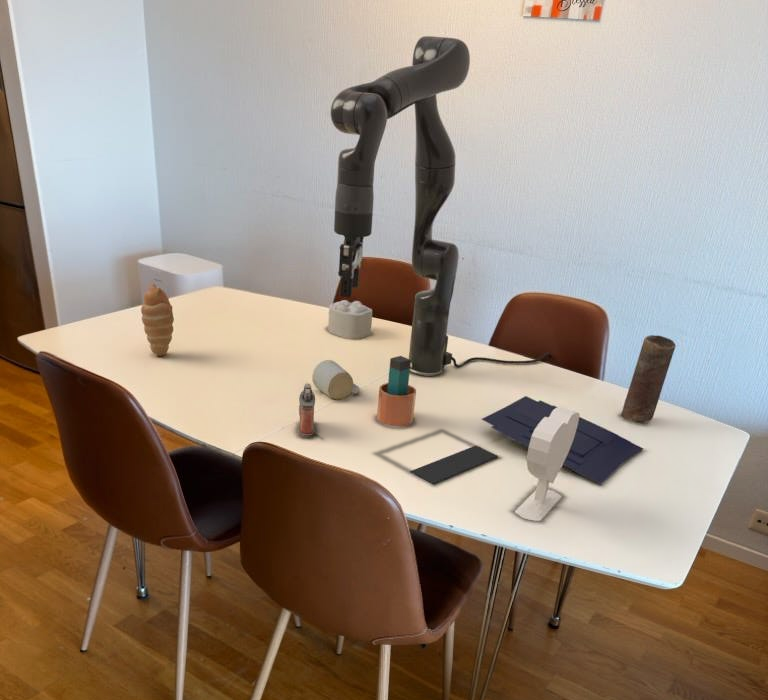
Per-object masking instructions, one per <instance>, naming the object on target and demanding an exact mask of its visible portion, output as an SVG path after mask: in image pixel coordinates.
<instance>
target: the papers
mask: <svg viewBox="0 0 768 700" xmlns="http://www.w3.org/2000/svg"><path fill="white" fill-rule="evenodd" d="M557 407H558V406H556V405H554V404H553V405H552V404H550V403H548V402H545V401H543V400H540V399H539V400H535V399H533V398H531V397H529V396H528V395H524V396H523V397H521V398H519V399H518V400H516V401H514V402H512V403H510V404H508V405H506V406H505V407H502V408H501V409H498V410H496V411H494V412H493V413H491V414H489V415H486V416H484V417H482V418H481V420H482V421H483V422H486V423H487V424H489V425H491V428H492V429H494V430H495V431H498V432H499V433H501V434H502V435H504V436H505V437H507V438H509V439H510V440H512V441H514V442H515V443H520V444H522V445H523V446H525V447H527V448H529V444H530V440H531V436H532V434H533V432H534V430H535V428H536V427H537V425H538V424H539V423H540V421H541V420H542V419H543V418H544V417H548V418H549V416H550V414H551V413H552V411H553V410H554V409H555V408H557ZM643 450H644V448H643V447H642V446H640V445H638V444H636V443H633V442H632V441H630V440H628V439H627V438H624V437H622V436H620V435H619V434H618V433H615V432H612V431H610V430H608V429H606V428H604V427H602V426H600V425H598V424H597V423H593V422H592V421H590V420H587V419H586V418H583V417H581V416H579V421H578V426H577V429H576V433H575V436H574V439H573V442H572V445H571V447H570V450H569V452H568V455H567V457H566V459H565V461H564V463H563V465H562V466H565V467H566V468H569V470H571V471H573V472H575V473H577V474H579V475H580V476H582V477H585V478H587V479H588V480H591V481H594V482H595V483H597V484H599V485H602V484H603V482H605V481H606V480H607V479H608V478H609V477H610V476H611V475H612V474H613V473H614V472H615V471H616V470H617V469H618V468H619V467H620V466H621V465H622V464H624V463H626V462H627V461H628V460H629V459H632V458H633V457H634V456H636V455H637V454H639V453H641V451H643Z"/></svg>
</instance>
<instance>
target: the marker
mask: <svg viewBox="0 0 768 700" xmlns="http://www.w3.org/2000/svg"><path fill="white" fill-rule="evenodd" d="M410 363H411V360H410V359H409V358H407V357H405V356H402V355H398V356H395V357H390V359H389V369H388V370H389V371H388V379H387V380H388V382H387V383H388V391H387V393H388V394H391V395H397V396H405V395H407V392H408V385H409V381H410V373H411V372H410Z"/></svg>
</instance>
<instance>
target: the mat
mask: <svg viewBox="0 0 768 700" xmlns="http://www.w3.org/2000/svg"><path fill="white" fill-rule="evenodd" d="M498 457H499V455H497V454H495V453H493V452H491V451H489V450H486V449H484V448H483V447H480V446H479V445H473V446H471V447H469V448H466V449H463V450H460V451H458V452H455V453H453V454H450V455H447V456H445V457H443V458H440V459H437V460H435V461H433V462H430V463H428V464H425V465H422V466H420V467H418V468H415V469H411V470H409V473H412V474H413V475H415V476H417V477H419V478H421V479H423V480H425V481H426V482H428V483H430V484H432V485H436V484H438V483H441V482H444V481H446V480H448V479H450V478H453V477H455V476H457V475H460V474H462V473H464V472H466V471H467V472H468V471H470V470H471V469H474V468H477V467H479V466H481V465H483V464H486V463H488V462H490V461H493V460H495V459H497V458H498Z"/></svg>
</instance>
